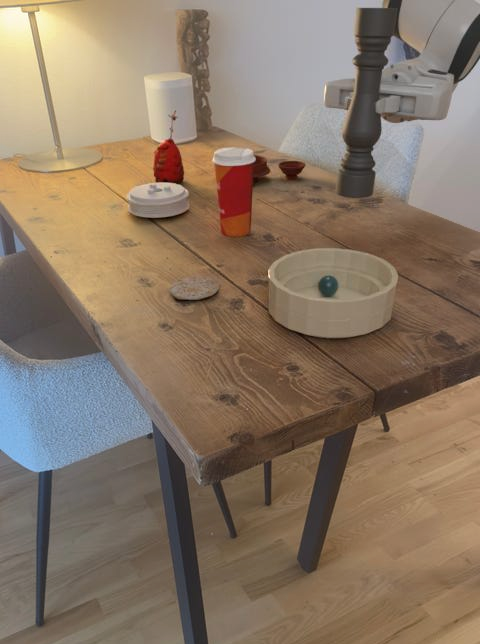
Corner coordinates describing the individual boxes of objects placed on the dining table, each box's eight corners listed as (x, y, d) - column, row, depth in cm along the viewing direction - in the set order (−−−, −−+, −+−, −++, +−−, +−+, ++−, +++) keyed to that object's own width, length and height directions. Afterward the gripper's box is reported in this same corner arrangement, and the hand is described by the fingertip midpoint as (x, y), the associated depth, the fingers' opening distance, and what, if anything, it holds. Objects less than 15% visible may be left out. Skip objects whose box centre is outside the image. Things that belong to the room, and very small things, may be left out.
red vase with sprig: (156, 178, 136) (148, 108, 127) (185, 177, 136) (180, 107, 127) (153, 187, 130) (145, 114, 121) (184, 186, 130) (178, 113, 121)
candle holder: (373, 189, 97) (398, 8, 82) (372, 199, 92) (399, 8, 77) (336, 187, 98) (355, 7, 82) (334, 196, 93) (353, 8, 78)
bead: (336, 278, 84) (333, 268, 82) (342, 295, 83) (339, 286, 81) (317, 285, 85) (313, 276, 82) (322, 302, 84) (319, 293, 81)
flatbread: (183, 277, 91) (183, 271, 91) (227, 284, 89) (226, 278, 88) (160, 299, 85) (159, 293, 85) (206, 306, 83) (205, 300, 82)
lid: (200, 214, 115) (198, 189, 112) (143, 226, 110) (139, 200, 107) (173, 198, 124) (171, 174, 121) (119, 209, 119) (116, 184, 116)
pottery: (219, 174, 138) (218, 154, 135) (300, 170, 139) (301, 151, 136) (222, 188, 129) (221, 167, 126) (308, 184, 130) (309, 164, 127)
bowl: (379, 284, 88) (384, 246, 84) (403, 342, 74) (411, 300, 71) (266, 286, 88) (266, 249, 85) (270, 343, 75) (270, 302, 71)
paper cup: (227, 222, 111) (224, 144, 103) (262, 227, 109) (262, 148, 100) (208, 235, 106) (203, 155, 97) (244, 241, 103) (243, 159, 94)
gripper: (349, 66, 98) (305, 76, 90) (464, 74, 88) (427, 87, 80) (345, 107, 102) (303, 121, 94) (455, 120, 92) (419, 136, 84)
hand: (361, 105), depth 87 cm, fingers closed on candle holder, 3 cm apart
